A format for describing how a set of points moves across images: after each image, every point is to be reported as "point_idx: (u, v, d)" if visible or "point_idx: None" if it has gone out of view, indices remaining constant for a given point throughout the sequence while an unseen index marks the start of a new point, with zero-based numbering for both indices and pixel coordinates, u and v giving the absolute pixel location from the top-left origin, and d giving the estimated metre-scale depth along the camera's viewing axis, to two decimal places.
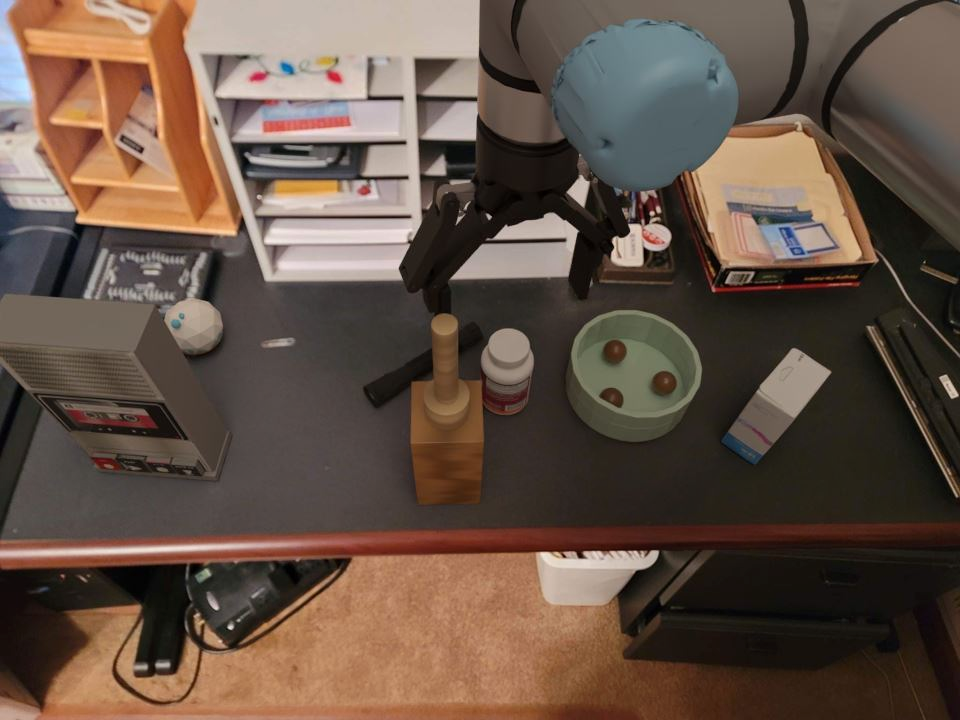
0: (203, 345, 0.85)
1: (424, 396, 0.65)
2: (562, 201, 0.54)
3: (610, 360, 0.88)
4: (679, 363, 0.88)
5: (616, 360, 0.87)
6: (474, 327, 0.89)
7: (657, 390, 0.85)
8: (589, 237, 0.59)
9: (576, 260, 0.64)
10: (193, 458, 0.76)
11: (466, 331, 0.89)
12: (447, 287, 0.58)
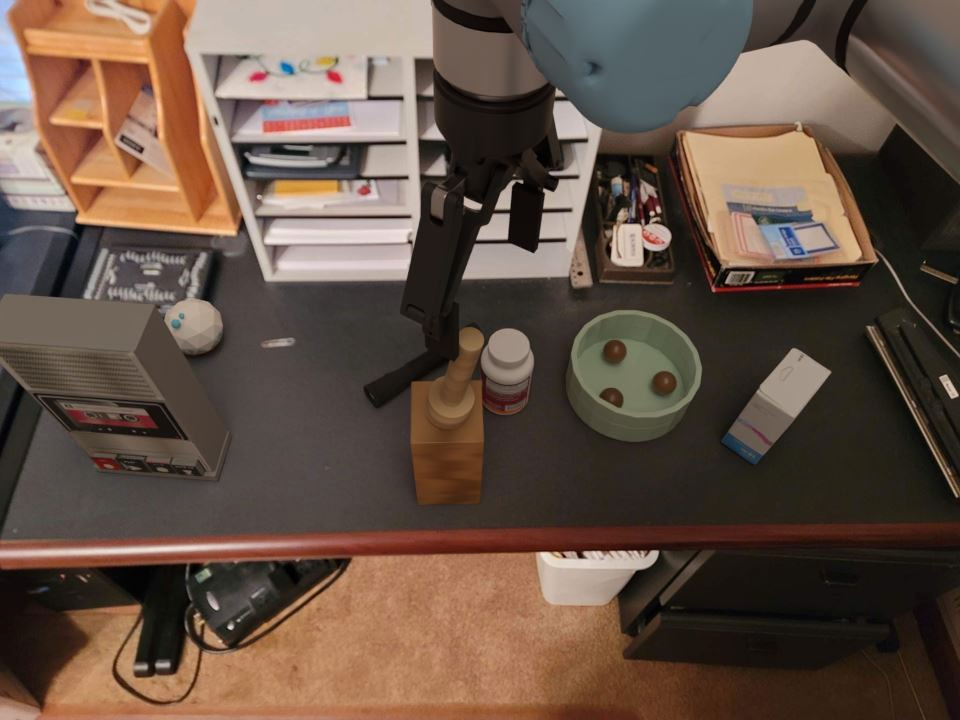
0: (203, 345, 0.85)
1: (429, 396, 0.65)
2: (530, 151, 0.48)
3: (610, 360, 0.88)
4: (679, 363, 0.88)
5: (616, 360, 0.87)
6: (475, 327, 0.89)
7: (657, 390, 0.85)
8: (539, 181, 0.55)
9: (517, 215, 0.59)
10: (193, 458, 0.76)
11: None
12: (453, 303, 0.50)
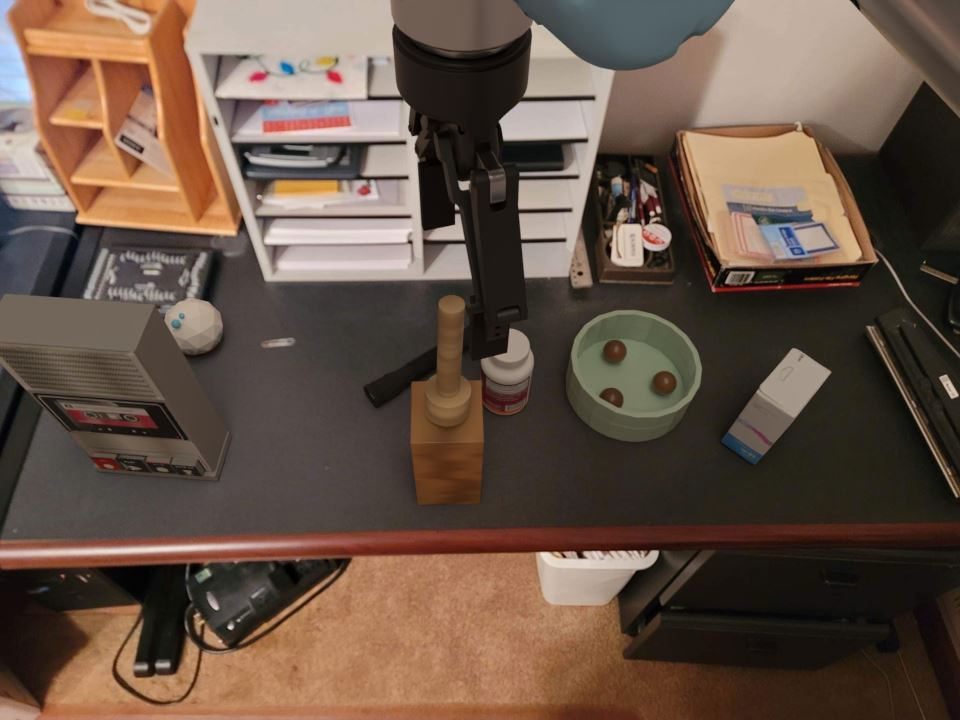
0: (203, 345, 0.85)
1: (426, 389, 0.65)
2: None
3: (610, 360, 0.88)
4: (679, 363, 0.88)
5: (616, 360, 0.87)
6: None
7: (657, 390, 0.85)
8: None
9: (431, 196, 0.55)
10: (193, 458, 0.76)
11: (467, 332, 0.89)
12: None
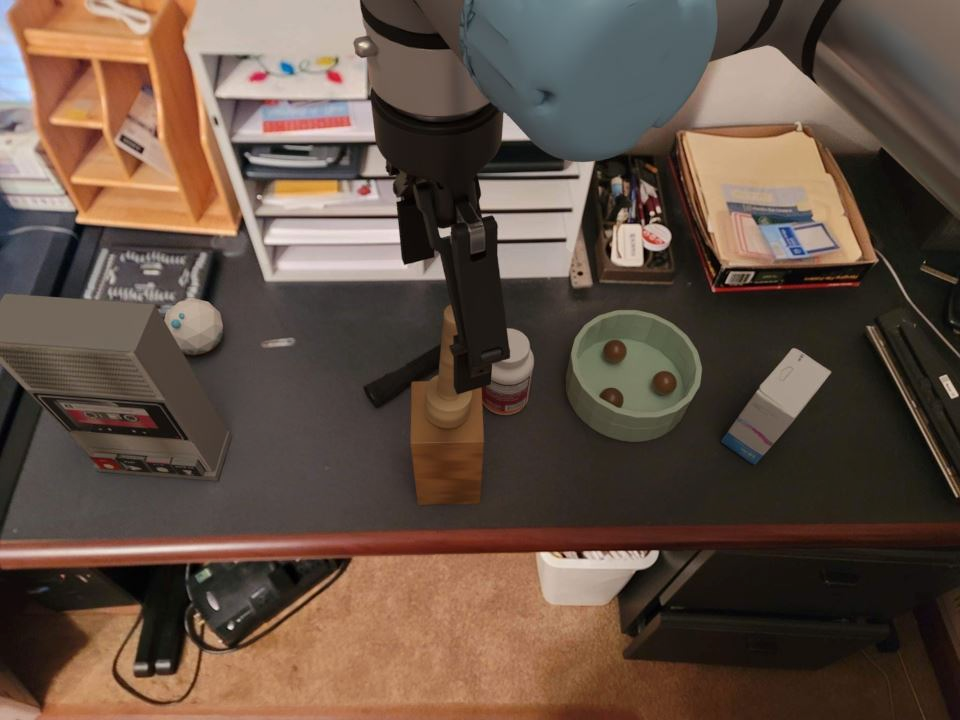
0: (203, 345, 0.85)
1: (427, 390, 0.65)
2: None
3: (610, 360, 0.88)
4: (679, 363, 0.88)
5: (616, 360, 0.87)
6: None
7: (657, 390, 0.85)
8: None
9: (410, 232, 0.56)
10: (193, 458, 0.76)
11: None
12: None
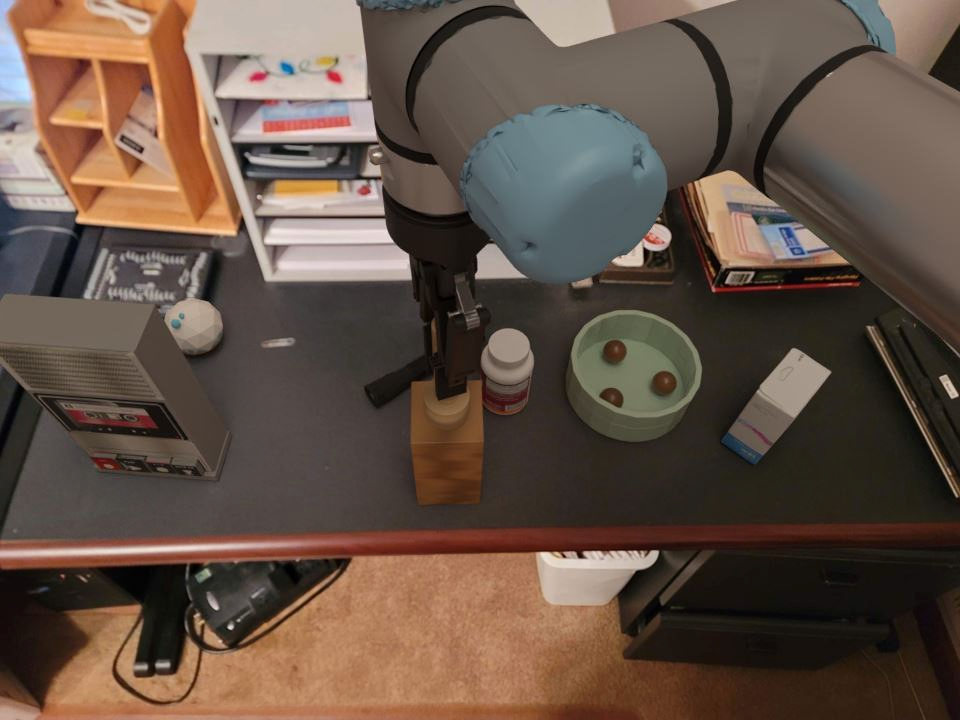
0: (203, 345, 0.85)
1: (424, 394, 0.65)
2: None
3: (610, 360, 0.88)
4: (679, 363, 0.88)
5: (616, 360, 0.87)
6: None
7: (657, 390, 0.85)
8: None
9: None
10: (193, 458, 0.76)
11: None
12: None
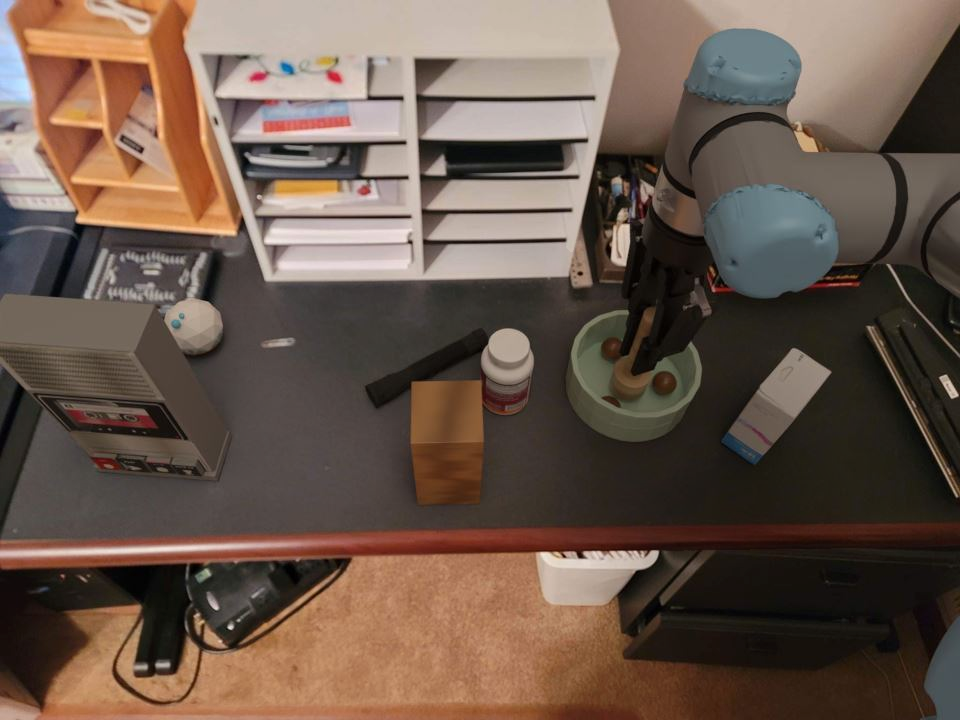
0: (203, 345, 0.85)
1: (615, 371, 0.83)
2: None
3: (608, 357, 0.88)
4: (679, 363, 0.88)
5: (614, 356, 0.87)
6: (481, 333, 0.88)
7: (657, 390, 0.85)
8: (656, 297, 0.75)
9: (634, 336, 0.78)
10: (193, 458, 0.76)
11: (472, 337, 0.88)
12: None
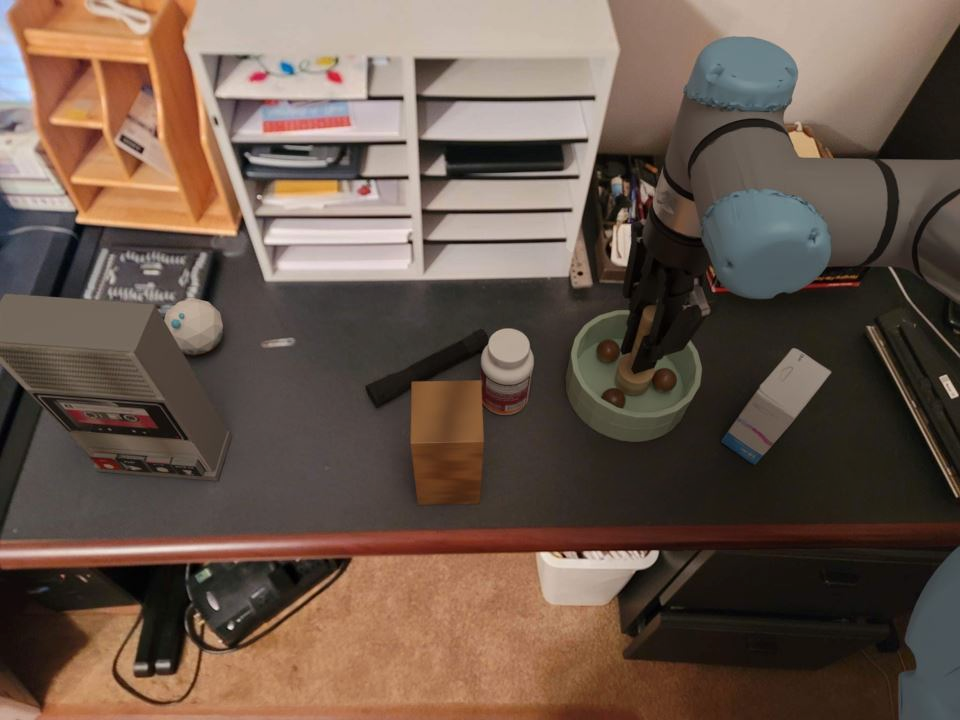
0: (203, 345, 0.85)
1: (619, 364, 0.85)
2: None
3: (603, 361, 0.88)
4: (679, 363, 0.88)
5: (608, 360, 0.87)
6: (482, 334, 0.88)
7: (656, 385, 0.85)
8: (657, 296, 0.76)
9: (634, 335, 0.80)
10: (193, 458, 0.76)
11: (473, 338, 0.88)
12: None
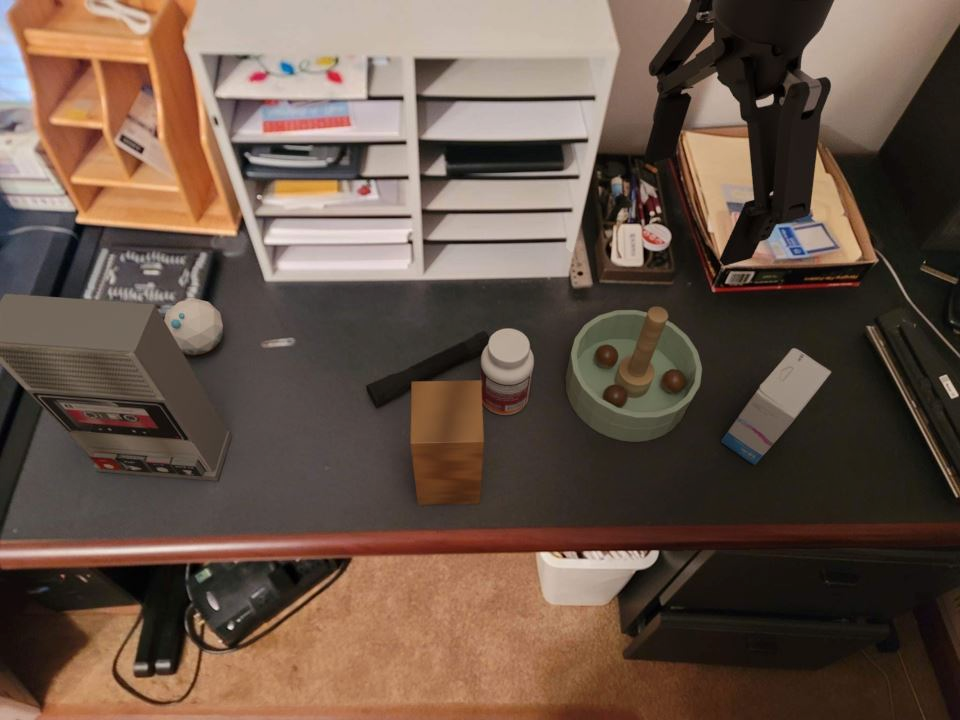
0: (203, 345, 0.85)
1: (619, 366, 0.85)
2: None
3: None
4: (679, 363, 0.88)
5: None
6: (484, 336, 0.88)
7: (671, 384, 0.85)
8: (698, 80, 0.59)
9: (663, 129, 0.63)
10: (193, 458, 0.76)
11: (475, 340, 0.88)
12: None
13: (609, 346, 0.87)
